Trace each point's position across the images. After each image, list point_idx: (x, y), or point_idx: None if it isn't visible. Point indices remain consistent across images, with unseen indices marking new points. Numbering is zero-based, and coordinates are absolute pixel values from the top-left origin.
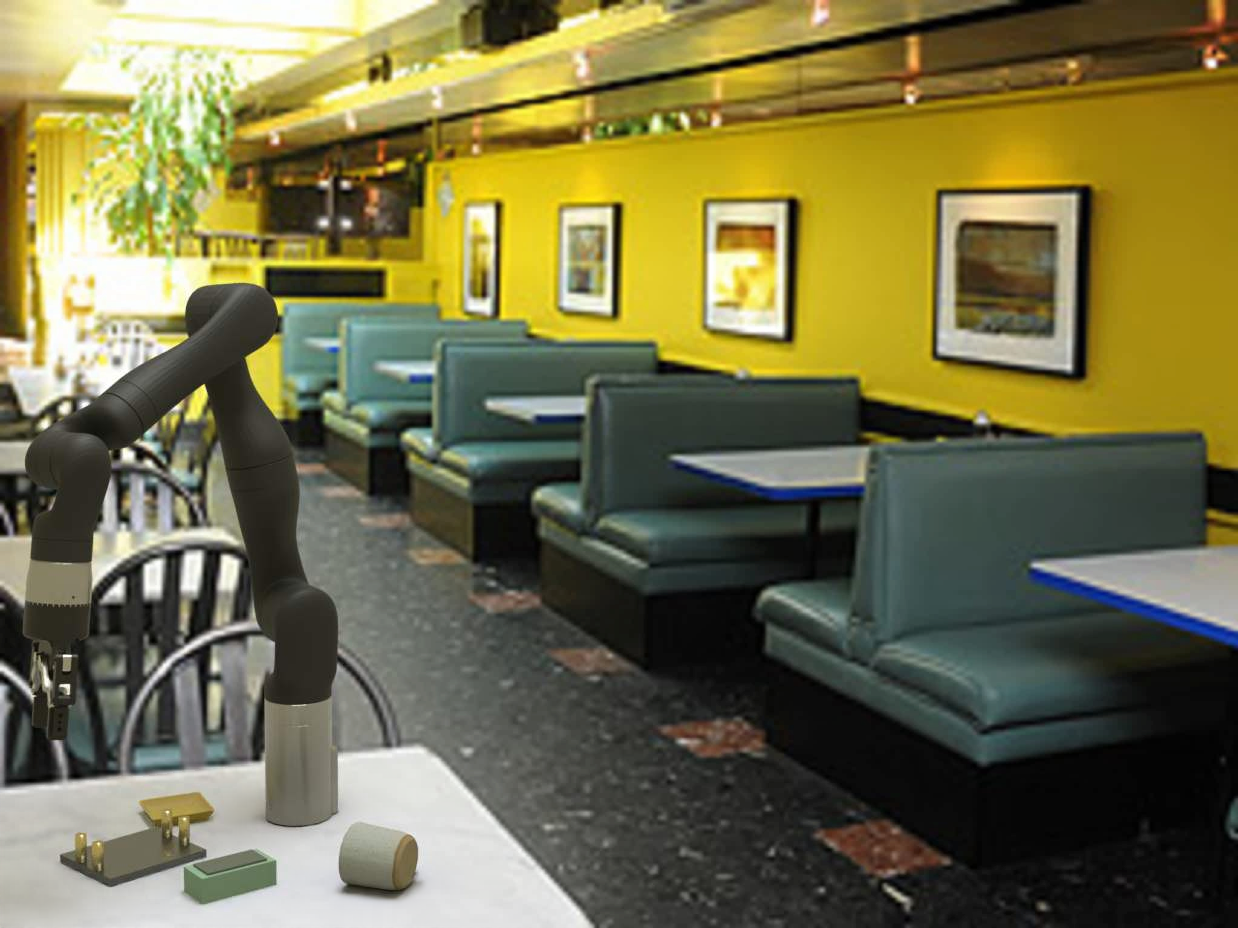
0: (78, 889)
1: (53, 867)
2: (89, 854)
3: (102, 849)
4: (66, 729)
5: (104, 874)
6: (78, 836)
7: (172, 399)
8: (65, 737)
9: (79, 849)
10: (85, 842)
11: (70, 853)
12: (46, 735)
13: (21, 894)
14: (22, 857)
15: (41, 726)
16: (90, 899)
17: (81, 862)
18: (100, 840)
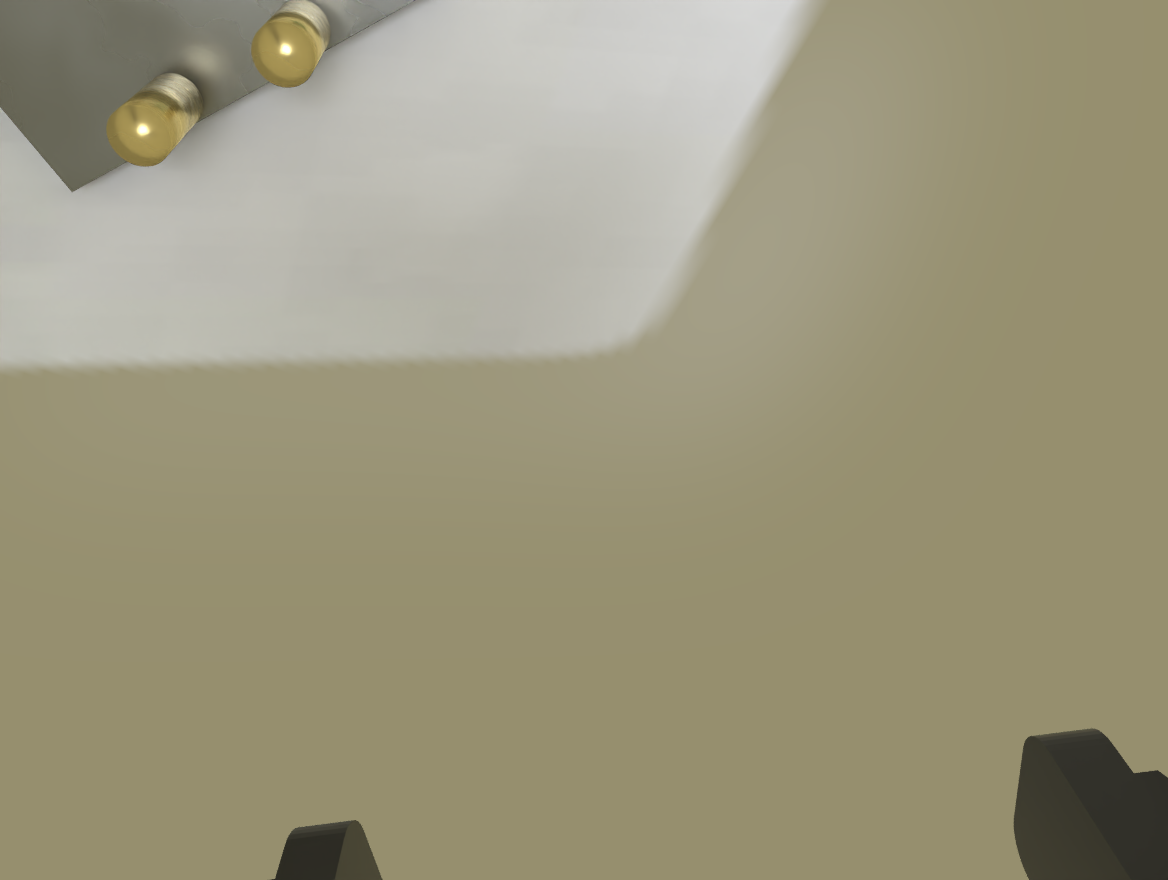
0: (443, 120)
1: (155, 209)
2: (88, 56)
3: (303, 23)
4: (1151, 806)
5: (383, 4)
6: (170, 149)
7: None
8: (1097, 739)
9: (188, 126)
10: (164, 102)
11: (63, 145)
12: (1029, 876)
13: (435, 324)
14: (16, 324)
15: (372, 874)
16: (571, 77)
17: (201, 101)
18: (257, 36)
